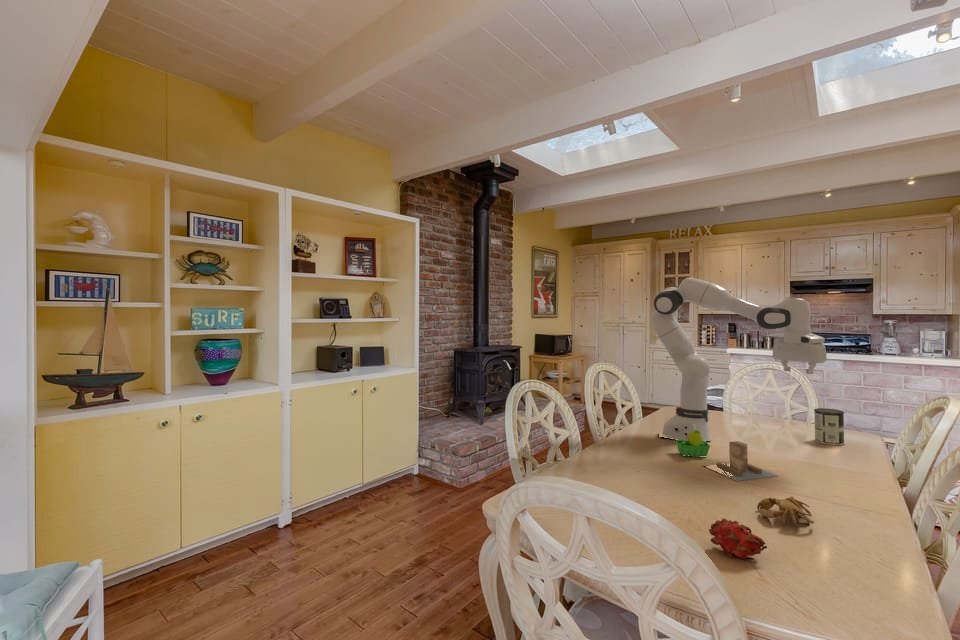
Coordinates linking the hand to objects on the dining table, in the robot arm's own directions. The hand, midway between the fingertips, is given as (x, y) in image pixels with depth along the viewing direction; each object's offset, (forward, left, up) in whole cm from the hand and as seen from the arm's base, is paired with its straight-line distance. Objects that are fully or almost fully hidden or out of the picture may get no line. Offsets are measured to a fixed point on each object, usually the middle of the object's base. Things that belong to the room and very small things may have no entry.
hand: (798, 372), depth 171 cm
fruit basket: (-37, -18, -34) cm, 53 cm away
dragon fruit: (-21, -94, -34) cm, 102 cm away
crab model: (-9, -66, -34) cm, 75 cm away
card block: (-21, -29, -34) cm, 49 cm away
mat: (-21, -29, -34) cm, 49 cm away
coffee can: (+13, +31, -34) cm, 48 cm away
